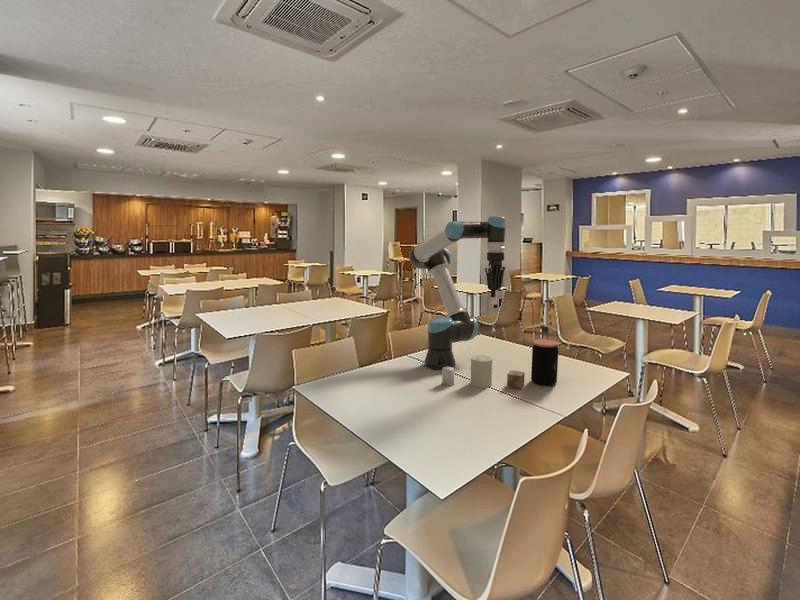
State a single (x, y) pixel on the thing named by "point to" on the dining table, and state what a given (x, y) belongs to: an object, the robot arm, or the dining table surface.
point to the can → (481, 371)
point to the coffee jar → (544, 362)
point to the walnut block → (515, 379)
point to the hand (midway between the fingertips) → (494, 304)
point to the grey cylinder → (448, 376)
